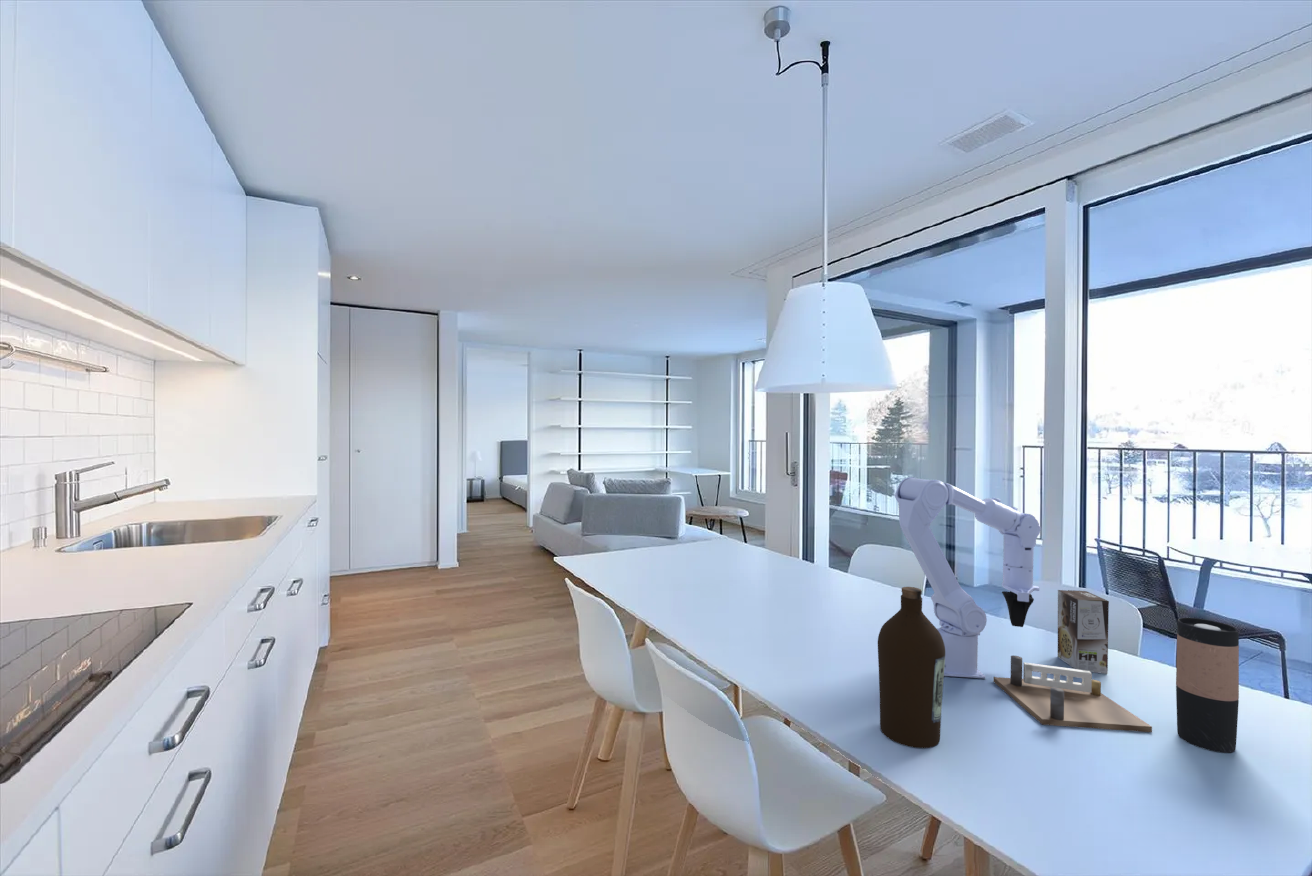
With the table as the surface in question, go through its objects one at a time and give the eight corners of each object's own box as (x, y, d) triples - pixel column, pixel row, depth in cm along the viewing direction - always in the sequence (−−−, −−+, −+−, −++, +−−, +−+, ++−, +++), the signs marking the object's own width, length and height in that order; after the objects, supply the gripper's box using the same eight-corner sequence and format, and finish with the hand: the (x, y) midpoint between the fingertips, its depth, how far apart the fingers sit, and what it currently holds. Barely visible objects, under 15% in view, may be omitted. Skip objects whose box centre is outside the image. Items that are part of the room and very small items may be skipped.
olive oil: (872, 740, 94) (874, 591, 94) (880, 713, 103) (882, 578, 104) (943, 758, 89) (945, 601, 89) (944, 728, 98) (946, 586, 99)
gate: (1024, 683, 114) (1025, 664, 114) (1023, 680, 115) (1023, 662, 115) (1091, 692, 110) (1091, 673, 110) (1089, 690, 111) (1089, 671, 111)
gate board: (1042, 724, 100) (1042, 688, 100) (993, 681, 118) (993, 651, 118) (1151, 732, 98) (1152, 695, 98) (1085, 687, 116) (1085, 656, 116)
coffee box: (1109, 674, 123) (1110, 601, 123) (1076, 671, 124) (1077, 599, 125) (1086, 658, 132) (1087, 590, 132) (1055, 656, 133) (1056, 588, 133)
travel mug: (1163, 730, 99) (1164, 617, 99) (1202, 729, 100) (1204, 617, 100) (1209, 755, 91) (1210, 632, 91) (1251, 753, 92) (1253, 631, 92)
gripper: (1046, 574, 118) (1045, 638, 118) (1032, 561, 131) (1031, 619, 131) (1007, 570, 121) (1006, 633, 121) (997, 558, 134) (996, 614, 134)
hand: (1017, 625), depth 126 cm, fingers closed
